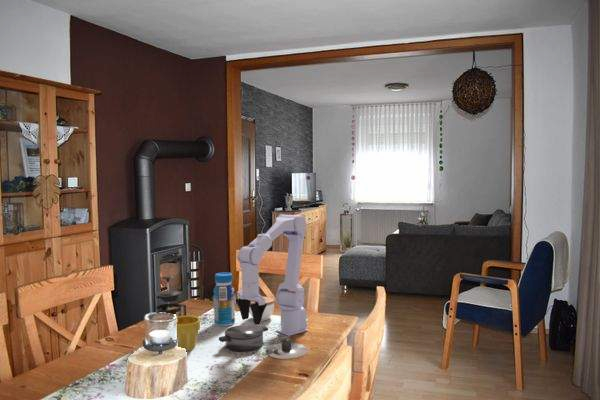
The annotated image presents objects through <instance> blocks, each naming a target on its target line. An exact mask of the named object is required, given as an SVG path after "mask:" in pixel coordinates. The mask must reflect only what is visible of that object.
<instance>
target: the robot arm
mask: <svg viewBox="0 0 600 400" xmlns="http://www.w3.org/2000/svg"><path fill="white" fill-rule="evenodd" d="M306 230H307V221H306V219H305V217H304V215H301V214H298V215H295V214H293V215H292V214H283V213H282V214H279V215H278V216H277V217H276V218H275V221H274V224H273V225H272V226H271V227H270V228H269V229H267V231H266V232H265V233H258V234H257V235H256V238H255V239H253V240H252V241H251V242H250V243H249V244H248V245H245V246H242V247H241V248H240V249H239V250H238V252H237V253H238V254H237V257H236V259H237V260H238V262H239V267H240V269H241V290H238V291H237V292H236V294H237V295H236V296H237V298H235V299H234V302H235V303H236V305H237V307H238V308H239V312H240V317H241V319H242V320H244V321H245V320H247V319H249V317H250V312H249V308H251V310H252V314H253V317H252V320H253V325H254V326H258V325H261V322H262V321H261V319H262V315H263V312H264V310H265V308H266V306H267V304H266V303H265V299H264V298H262V297H263V295H261V294H260V279H259V278H260V277H259V268H260V267H259V264H260V263H261V262H262V259H263V256H264V254H265V253H266V252H267V251H268V250H269V249H270V248H271V247H272V246H273V241H274V240H275V239H276V238H278V237H279V236H280V235H281V234H283V235H284V236H285V237H287V239H288V248H287V249H288V251H287V257H286V265H285V267H286V268H285V275H284V281H283V282H282V283H280V284H279V285H278V289H277V292H276V295H275V303H276V304H277V306H278V309H280V328H277V329H275V331H276V332H278V333H279V334H282V335H285V336H288V337H289V336H294V335H297V334H300V333H305V332H308V331H309V329H308V327H307V311H306V309H305V307H303V306H304V305H305V300H306V299H305V294H304V293H305V292H304V291H305V288H304V287H303V286H302V285H301V284H300V283H299V281H300V273H301V272H300V271H301V264H302V254H303V247H304V239H305V237H306V232H307V231H306ZM251 301H252V302H255V304H251V305H250V303H251Z"/></svg>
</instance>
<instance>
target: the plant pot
mask: <svg viewBox="0 0 600 400" xmlns="http://www.w3.org/2000/svg"><path fill="white" fill-rule="evenodd" d="M176 317H177V319H178V322H177V339H178V347H181V348H185V349H186V350H187V351H190V350H191V351H192V350H194V349H195V348H196V343H197V338H198V332H199V330H200V328H201V318H200V317H199V316H195V315H186V316H183V315H181V316H180V317H179V316H176Z"/></svg>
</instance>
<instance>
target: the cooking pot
mask: <svg viewBox="0 0 600 400" xmlns="http://www.w3.org/2000/svg"><path fill="white" fill-rule="evenodd" d="M267 331H269V327H267V326H265V325H264V326H258V325H254V324H241V325H235V326H234V325H233V326H230V327H229V328H228V327H227V328H226V329H225V330H224V335H223V336H219V337H218V341H220V343H225V349H227V350H229V351H231V352H239V353H247V352H248V353H249V352H253V351H257V350H259V349H261V348H262V347H263V345H264V332H267Z"/></svg>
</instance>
